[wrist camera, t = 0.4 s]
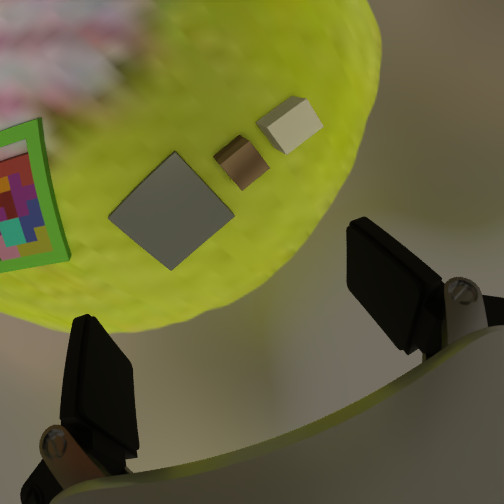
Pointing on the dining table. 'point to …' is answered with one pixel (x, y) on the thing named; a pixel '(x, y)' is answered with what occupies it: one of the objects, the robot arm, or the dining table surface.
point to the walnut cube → (241, 162)
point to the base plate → (171, 212)
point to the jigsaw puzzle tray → (29, 204)
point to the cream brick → (290, 124)
